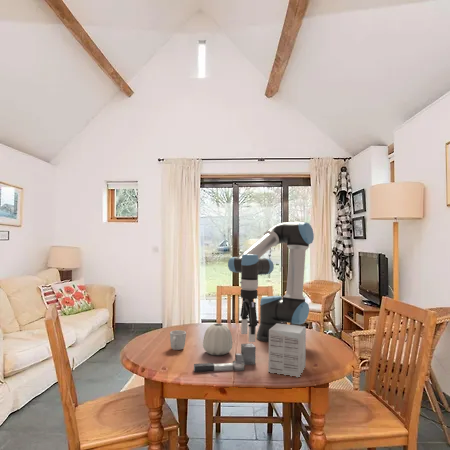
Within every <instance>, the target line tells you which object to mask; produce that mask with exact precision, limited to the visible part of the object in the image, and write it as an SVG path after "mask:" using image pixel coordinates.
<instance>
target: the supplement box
mask: <svg viewBox="0 0 450 450" xmlns="http://www.w3.org/2000/svg"><path fill="white" fill-rule="evenodd" d="M306 328H307V327H306V326H305V325H298V324H289V323H288V324H287V323H281V324H278V323H276V324H275V325H274V326H273V327H272V328H270V329H269V342H268V362H267V363H268V365H267V367H268V368H267V369H268V370H267V371H268V373H269V372H270V374H274V373H277V374H276V375H280V374H284V375H283V376H286V375H290V376H289V377H292V376H296V377H295V378H298V377H300V378H301V376H302V374H303V372H304V371H305V369H306V348H307V347H306V342H307V341H306V338H307V337H306V334H307V333H306V332H307V331H306ZM304 368H305V369H304ZM303 370H304V371H303ZM301 373H302V374H301ZM300 375H301V376H300Z"/></svg>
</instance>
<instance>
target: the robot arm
mask: <svg viewBox="0 0 450 450" xmlns="http://www.w3.org/2000/svg"><path fill="white" fill-rule="evenodd" d="M314 236H315V233H314V230H313V227H312V225H311V224H310V223H309V222H306V221H305V222H304V221H303V222H302V221H294V222H293V221H291V222H286V221H285V222H280V223H278V224H275V225H273V226H271V227H270V228H269V229H267V230H266V231H265V232H264V233H263V236H262V237H260V238H259V239H258V240H257V241H256V242H254V243H253V244H252V245H250V247H248V249H245V250H244V252H243V253H241V254H240V255H239V256H232V257H230V258H229V259H228V262H227V268H228V270H229V271H230V272H232V273H236V274H238V273H239V274H241V275H240V276H241V277H240V281H239V284H240V288H241V289H240V298H241V299H242V302H241V309H240V315H239V317H241V327H240V328H241V331H240V333H241V335H248V342H249V343H256V340H259V341H261V342H265V343H269V329H270V328H272V327H273V326H274V325H275V324H276V323H278V324H282V322H283V323H286V324H287V323H288V324H291V325H303V324H304V323H305V322H306V321H307V319H308V317H309V313H310V305H309V304H308V302H306V298H305V297H304V295H303V294H304V281H305V266H306V264H305V263H306V251H307V250H308V249H309V248H310V247H309V246H310V245H311V244H312V243H313V242H314V239H315V238H314ZM279 244H286V246H287V248H288V249H289V250H288V251H289V253H288V265H287V266H288V267H287V280H286V281H287V282H286V293H285V294H284V295H283V297H282V296H281V295H270V296H264V297H261V299H260V303H259V308H260V309H259V312H260V313H259V314H260V316H259V323H258V316H257V309H256V308H257V306H256V305H257V303H256V301H254V300H256V299H257V298H258V293H259V292H258V291H259V290H258V289H259V276H261V275H265V276H266V275H270V274H271V273H272V272H273V271H274V262H273V261H272V259H270V258H266V257H264V258H263V256H264V255H265V254H266V253H267V252H268V251H269V250H271V248H273V247H276V246H278V245H279ZM261 257H262V258H261ZM248 323H249V324H248ZM258 324H259V327H258ZM256 327H258V329H257V330H256Z"/></svg>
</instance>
